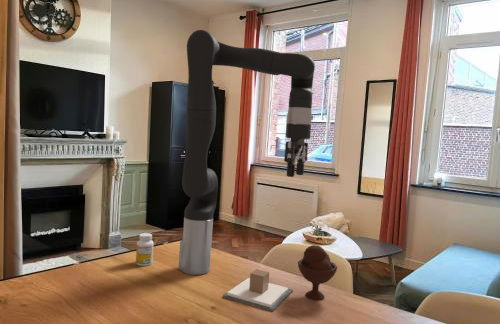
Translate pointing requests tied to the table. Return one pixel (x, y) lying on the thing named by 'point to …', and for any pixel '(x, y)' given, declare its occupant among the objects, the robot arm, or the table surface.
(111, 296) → the table surface
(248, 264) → the table surface
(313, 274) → the ice cream bowl
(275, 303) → the mat
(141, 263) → the supplement bottle
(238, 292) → the lid
